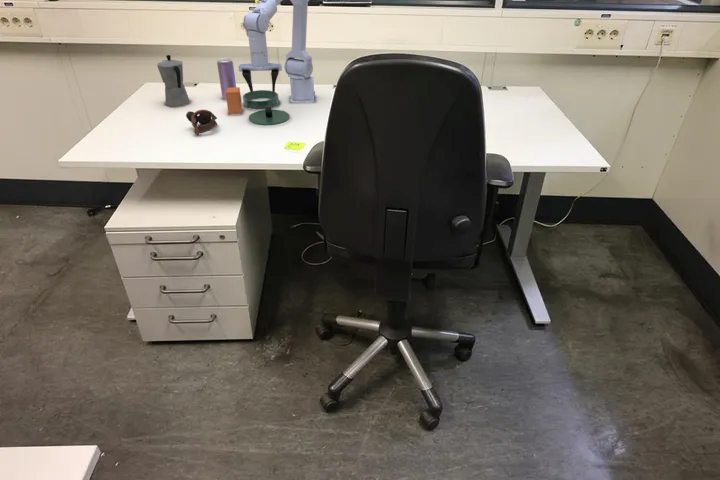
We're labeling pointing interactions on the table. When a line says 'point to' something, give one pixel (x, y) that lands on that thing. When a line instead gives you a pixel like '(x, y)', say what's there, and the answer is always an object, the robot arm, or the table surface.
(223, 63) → the beverage can
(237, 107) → the juice carton
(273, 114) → the tin lid
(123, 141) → the table surface
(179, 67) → the coffeepot
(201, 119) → the pottery mug
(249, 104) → the lunch tin
